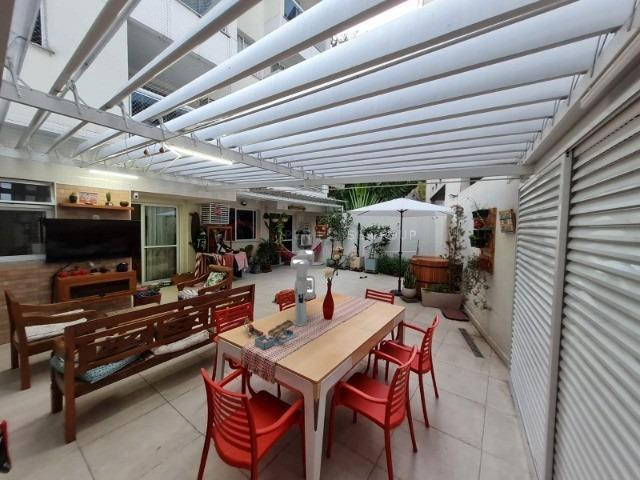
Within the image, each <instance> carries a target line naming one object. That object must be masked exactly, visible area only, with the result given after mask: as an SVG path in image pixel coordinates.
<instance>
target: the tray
mask: <svg viewBox="0 0 640 480" xmlns="http://www.w3.org/2000/svg"><path fill="white" fill-rule="evenodd" d="M263 340H267V342H263ZM254 346H255V347H256V348H258V349H261V350H263V351H266V349H267V350H269V349H270V348H273V347H276V346H275V339H272V340H270V339H269V337H267V335H266V334H263V335H262V336H258V337H254Z"/></svg>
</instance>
